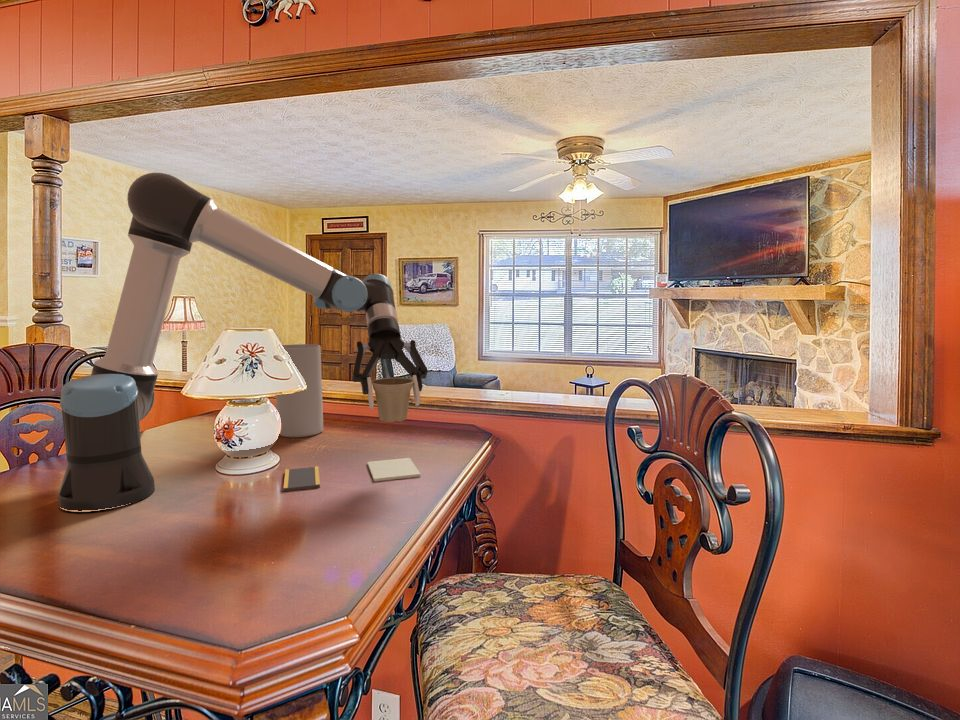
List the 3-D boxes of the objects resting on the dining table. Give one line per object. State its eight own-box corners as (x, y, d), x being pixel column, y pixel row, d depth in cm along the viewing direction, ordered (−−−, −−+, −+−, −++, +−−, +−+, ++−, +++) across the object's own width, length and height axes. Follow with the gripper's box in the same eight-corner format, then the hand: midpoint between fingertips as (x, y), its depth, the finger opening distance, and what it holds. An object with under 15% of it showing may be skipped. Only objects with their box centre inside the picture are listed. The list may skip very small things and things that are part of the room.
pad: (374, 481, 110) (374, 478, 110) (367, 464, 121) (367, 461, 121) (420, 476, 113) (420, 473, 113) (409, 460, 124) (409, 457, 124)
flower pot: (411, 424, 111) (410, 384, 110) (367, 424, 111) (366, 384, 110) (417, 414, 120) (416, 377, 119) (376, 414, 120) (376, 377, 119)
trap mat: (283, 491, 104) (283, 488, 104) (285, 472, 115) (285, 469, 115) (319, 487, 106) (319, 484, 106) (318, 469, 118) (318, 466, 117)
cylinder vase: (267, 436, 145) (263, 347, 142) (295, 425, 157) (292, 343, 154) (306, 440, 141) (302, 349, 138) (331, 428, 153) (329, 345, 150)
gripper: (425, 335, 132) (441, 409, 119) (335, 338, 125) (342, 416, 112) (430, 315, 126) (447, 391, 113) (336, 316, 119) (343, 397, 106)
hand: (395, 403), depth 112 cm, fingers closed on flower pot, 9 cm apart
